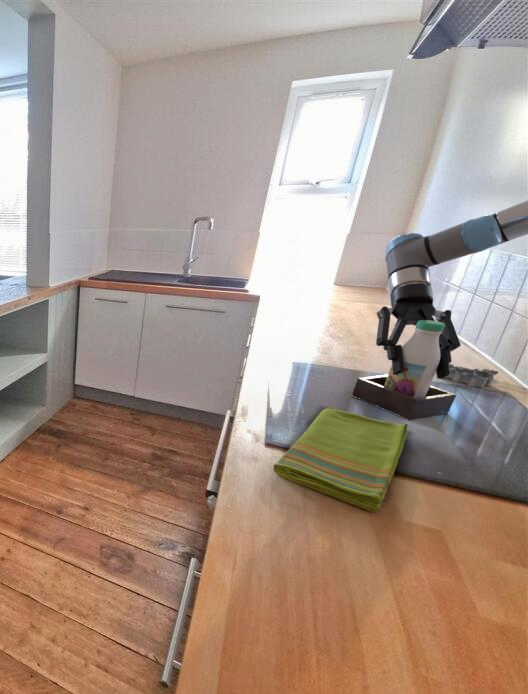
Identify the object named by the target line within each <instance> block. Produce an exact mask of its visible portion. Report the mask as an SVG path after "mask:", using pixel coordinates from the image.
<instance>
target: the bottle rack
mask: <svg viewBox="0 0 528 694" xmlns="http://www.w3.org/2000/svg"><path fill="white" fill-rule="evenodd" d="M387 376H388V374H379V375H373V376H366V377H364V376H363V377H358V378H356V379H357V380H356V382H355V385H354V388H353V389H352V393H351V396H352V395H353V396H355V397H357V398H360V399H362V400H364V401H366V402H365V403H367V402H368V403H367V404H369V403H371V404H374V405H377V406H379V407H381V408H384V409H386V410H388V411H391V412H393V413H395V414H398V415H400V416H402V417H404V418H403V419H405V418H406V419H405V420H407V419H408V420H407V421H411V419H412V420H418V419H423V418H429V417H436V416H441V415H448V414H449V413H450V410H451V408H452V406H453V403H454V402H455V399H456V397H457V394H456V393H453V392H451V391H448V390H446V389H442V388H439V387H437V386H436V387H435V386H433V385H430V387H429V389H428V391H427V394H426V396H425V397H421V398H413V397H411V396H408V395H405V394H403V393H400V392H397V391H395V390H392V389H389V388H387V387H384V384H385V381H386V379H387ZM355 397H354V398H355ZM357 398H356V399H357ZM360 399H359V400H360ZM362 400H361V401H362ZM364 401H363V402H364ZM371 404H370V405H371ZM374 405H373V406H374ZM379 407H378V408H379ZM381 408H380V409H381ZM386 410H385V411H386ZM388 411H387V412H388ZM393 413H392V414H393ZM395 414H394V415H395ZM398 415H397V416H398ZM400 416H399V417H400ZM402 417H401V418H402Z"/></svg>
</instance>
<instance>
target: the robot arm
mask: <svg viewBox="0 0 528 694" xmlns="http://www.w3.org/2000/svg"><path fill="white" fill-rule="evenodd" d="M527 235H528V200H527V199H526V200H525V201H523V202H520V203H517V204H514V205H512V206H510V207H507V208H505V209H502V210H500V211H497V212H495V213H493V214H485V215H482V216H479V217H476V218H472V219H469V220H466V221H464V222H462V223H459V224H455V225H453V226H451V227H448V228H445V229H443V230H441V231H438V232H435V233H433V234H429V235H426V236H423V235H422V234H421V233H419V232H418V233H416V232H410V233H408V234H406V233H405V234H400V235H398V236H396V237H393V238H392V239H390V241H389V242H388V243H387V245H386V247H385V263H386V269H387V279H388V289H389V298H390V299H389V300H390V306H391V307H388V306H382V307H381V308H380V309H379V310H378V311H377V312H376V315H377V318H378V324H377V334H376V340H375V345H376V346H377V347H381V346H382V347H383V350H384V351H385V352H386V356H387V360H388V361H391V366H392V367H393V374H394V375H398V374H399V373H401V372H402V371H404V363H403V354H402V346H403V344H398V343H399V340H400V338H401V336H402V334H403V332H404V330H405V328H406V326H415V327H416V324H417V322H418V321H419V320H431V321H437V322H442V323H444V324H445V327H444V330H443V331H442V333H441V334H440V335H439V348H440V361H439V364H438V367H437V370H436V372H435V374H436V373H437V375H436V379H439V380H442V379H445V378H444V377H446V376H447V375H449V374H450V372H449V366H448V364H452V354H451V352H453V351H455V350H456V349H458V348H460V347H461V342H460V339H459V336H458V334H457V330H456V329H455V326H454V324H453V321H452V310H450V309H446V310H444V311H442V310H437V308H436V307H435V306H434V295H433V288H432V279H431V274H430V267H434V266H438V265H441V264H443V263H446V262H450V261H453V260H456V259H461V258H463V257H466V256H470V255H472V254H477V253H481V252H483V251H486V250H488V249H491V248H494V247H496V246H499V245H501V244H502V245H503V244H505V243H507V242H510V241H513V240H515V239H518V238H522V237H524V236H527ZM391 315H392V316H393V317H394V318H395V319H396V322H395V323H394V327H393V329H392V331H391V333H390V325H391V324H390V323H391ZM389 333H390V334H389Z"/></svg>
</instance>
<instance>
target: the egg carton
mask: <svg viewBox="0 0 528 694" xmlns="http://www.w3.org/2000/svg"><path fill="white" fill-rule="evenodd" d="M448 366H449V372H450V374H449V375H447V376H446V377H444V378H443V379H449V380H452V382H456V383H463V384H467V385H468V386H469V387H472V388H473V387H475V388H479V389H480V388H484V387H485V386H487V387H489V386H491V384H492V382H493V380H494V378H495V376H497V375H498V374H499V371H498V370H494V369H489V368H487V369H486V368H483V369H479V368H468V367H465V366H456V365H454V364H452V363H449V364H448ZM435 375H436V376H437V373H436V372H435Z"/></svg>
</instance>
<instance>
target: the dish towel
mask: <svg viewBox="0 0 528 694" xmlns="http://www.w3.org/2000/svg"><path fill="white" fill-rule="evenodd" d="M408 426H409V423H395V422H389V421H385V420H380V419H374V418H370V417H367V416H364V415H360V414H356V413H352V412H348V411H344V410H342V409H341V410H340V409H335V408H329V407H327V408H324V409H323V410H321V412H320V413H319V414H318V415H317V416H316V418H315V419H314V420H313V422H311V424H310V425H309V427H308V428H307V429H306V430H305V432H303V434H302V435H301V436H300V437H299V438H298V439H297V440H296V441H295V442H294V444H293V445H292V446H290V447H289V449H288V450H287V451H286V452H285V453H284V454H283V455H282V456H281V457H280V458H279V460H277V462H275V463H273V472H274V473H275V474H277V475H278V476H280V477H282V478H284V479H286V480H288V481H290V482H292V483H295V484H299V485H302V486H303V487H306V488H309V489H311V490H314V491H317V492H318V493H322V494H324V495H327V496H329V497H332V498H334V499H337V500H339V501H342V502H345V503H348V504H350V505H352V506H356V507H358V508H361V509H364V510H366V511H368V512H371V513H378V512H379V511H380V509H381V507H382V505H383V502H384V501H385V497H386V495H387V492H388V489H389V487H390V484H391V481H392V478H393V477H394V474H395V471H396V468H397V466H398V464H399V459H400V457H401V455H402V452H403V450H404V446H405V442H406V439H407V435H408V433H409V430H408Z"/></svg>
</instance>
